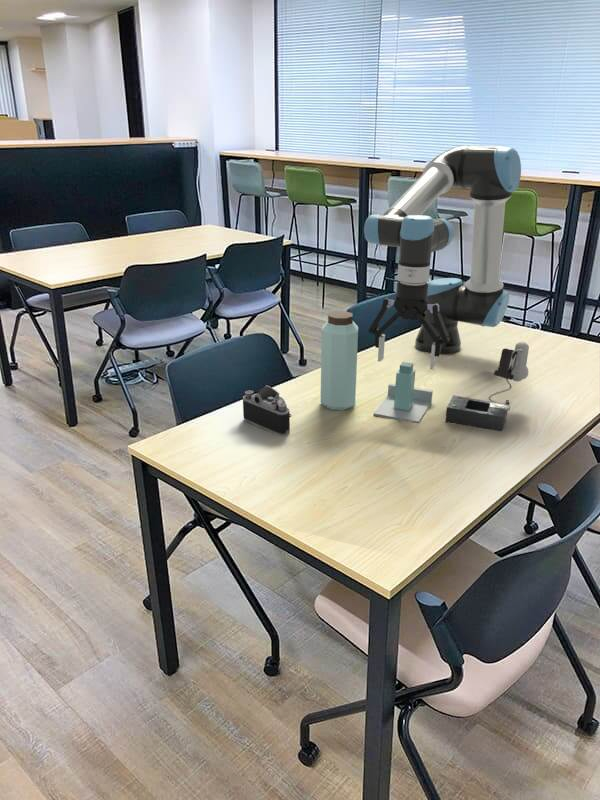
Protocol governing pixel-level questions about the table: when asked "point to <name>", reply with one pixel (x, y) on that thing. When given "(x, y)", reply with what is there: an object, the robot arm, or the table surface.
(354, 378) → the water bottle
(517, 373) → the clip-on lamp
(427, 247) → the robot arm
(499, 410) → the port
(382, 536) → the table surface
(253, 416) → the camera
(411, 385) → the plug
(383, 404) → the grey lipped plate
